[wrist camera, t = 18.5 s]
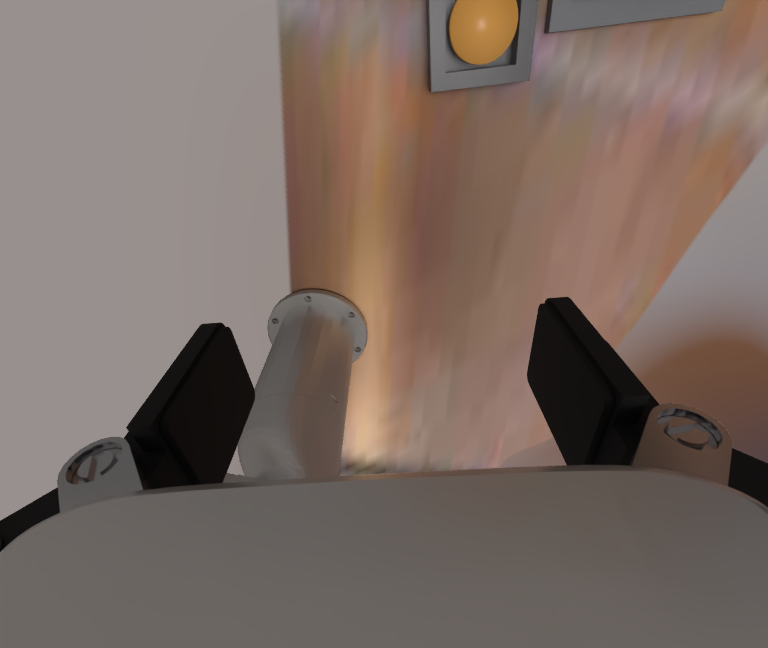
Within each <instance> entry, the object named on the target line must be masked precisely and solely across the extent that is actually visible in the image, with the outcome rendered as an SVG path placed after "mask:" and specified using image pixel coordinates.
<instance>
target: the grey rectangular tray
mask: <svg viewBox="0 0 768 648" xmlns="http://www.w3.org/2000/svg"><path fill="white" fill-rule="evenodd" d="M724 2H725V0H548V9H547V17H546V26H545V33H551V32H559V31H567V30H575V29H583V28H591V27H599V26H607V25H614V24H622V23H630V22H638V21H646V20H654V19H662V18H670V17H678V16H686V15H694V14H702V13H710V12H717V11H722V8H723V5H724Z"/></svg>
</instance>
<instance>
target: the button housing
mask: <svg viewBox="0 0 768 648" xmlns="http://www.w3.org/2000/svg"><path fill="white" fill-rule="evenodd" d="M455 1H456V0H427V36H428V74H429V91H430V92H437V91H446V90H454V89H463V88H471V87H480V86H488V85H497V84H505V83H514V82H522V81H530V71H531V62H532V53H533V43H534V34H535V25H536V15H537V6H538V0H516V2H517V6H518V24H517V29H516V32H515V35H514V37H513V40H512V42H511V43H510V45H509V47H508V48H507V49H506V51H505V52H504V53H503V54H502V55H501V56H500V57H498V58H497V59H496V60H494V61H492V62H490V63H487V64H481V65H476V64H468V63H465V62H463V61H461V60H460V59H459V58H458V57H457V56H456V55H455V54H454V53H453V51H452V49H451V47H450V45H449V41H448V36H447V24H448V18H449V14H450V11H451V9H452V7H453V5H454V3H455Z"/></svg>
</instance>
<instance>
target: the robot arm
mask: <svg viewBox="0 0 768 648" xmlns="http://www.w3.org/2000/svg"><path fill="white" fill-rule="evenodd" d="M309 296H310V297H309ZM268 335H269V338H270V341H271V343H272V348H271V350H270V352H269V355H268V357H267V360H266V362H265V365H264V367H263V370H262V372H261V375H260V377H259V380H258V382H257V384H256V387H255V389H254V388H253V385H252V382H251V380H250V377H249V375H248V372H247V370H246V367H245V364H244V362H243V359H242V357H241V354H240V352H239V349H238V346H237V344H236V341H235V339H234V336H233V334H232V331H231V329H230V328H229V327H225V326H224V324H223V323H210V324H201V325H200V326H199V328H198V329H197V330H196V332H195V333H194V335H193V336H192V337H191V339H190V340H189V342H188V343H187V344H186V346H185V347H184V348H183V350H182V351H181V352H180V354H179V355H178V357H177V358H176V360H175V361H174V362H173V364H172V365H171V366H170V368H169V369H168V370H167V372H166V373H165V375H164V376H163V377H162V379H161V380H160V382H159V383H158V384H157V386H156V387H155V389H154V390H153V391H152V393H151V394H150V395H149V397H148V398H147V399H146V401H145V402H144V404H143V405H142V406H141V408H140V409H139V411H138V412H137V413H136V415H135V416H134V417H133V419H132V420H131V422H130V423H129V424H128V426H127V427H126V428H127V429H128V431H129V432H128V433H127V435H126V436H125V437H124V439H123V438H121V437H109V438H105V439H101V440H98V441H96V442H93V443H91V444H89V445H88V446H86V447H84V448H83V449H81V450H79V451H78V452H77V453H76V454H74V456H72V457H71V458H70V459H69V460H68V461H67V462H66V463H65V465H64V466H63V467H62V469H61V471H60V473H59V475H58V480H57V483H58V488H56V489H54V490H52V491H51V492H49V493H47V494H46V495H44V496H42V497H40V498H39V499H37V500H35V501H33V502H32V503H30V504H28V505H27V506H25V507H23V508H22V509H20V510H18V511H16V512H15V513H13V514H11V515H9V516H8V517H6V518H4V519H3V520H1V521H0V648H768V463H765V462H763V461H761V460H758V459H756V458H754V457H752V456H749V455H747V454H745V453H742V452H740V451H737V450H735V449H733V448H732V439H731V436H730V434H729V433H728V431H727V430H726V428H725V427H724V426H723V425H722V424H720V423H719V422H718V421H717V420H716V419H714V418H713V417H711V416H710V415H708V414H707V413H705V412H702V411H700V410H698V409H696V408H693V407H689V406H686V405H682V404H672V403H668V404H661V405H659V403H658V402H657V401H656V400H655V399H654V397H653V396H652V395H651V394H650V393H649V391H648V390H647V389H646V388H645V387H644V385H643V384H642V383H641V382H640V381H639V379H638V378H637V377H636V376H635V375H634V373H633V372H632V371H631V370H630V369H629V367H628V366H627V365H626V364H625V363H624V361H623V360H622V359H621V358H620V357H619V355H618V354H617V353H616V352H615V351H614V349H613V348H612V347H611V346H610V345H609V343H608V342H606V341H605V340H604V339H603V337H602V336H601V335H600V334H599V333H598V331H597V330H596V329H595V328H594V327H593V325H592V324H591V323H590V322H589V321H588V319H587V318H586V317H585V316H584V315H583V313H582V312H581V311H580V310H579V308H578V307H577V306H576V305H575V304H574V302H573V301H572V300H571V299H570V298H569V297H560V298H548V299H546V301H545V304H540V305H539V308H538V314H537V320H536V325H535V331H534V337H533V342H532V348H531V354H530V360H529V365H528V371H527V378H528V383H529V385H530V387H531V389H532V392H533V394H534V396H535V398H536V400H537V402H538V404H539V407H540V409H541V411H542V413H543V415H544V417H545V419H546V421H547V424H548V426H549V428H550V430H551V432H552V434H553V436H554V439H555V440H556V443H557V445H558V447H559V449H560V451H561V453H562V456H563V458H564V460H565V462H566V464H567V465H566V466H538V467H537V466H536V467H511V468H490V469H469V470H448V471H428V472H409V473H390V474H371V475H353V476H340V464H341V453H342V444H343V435H344V427H345V419H346V410H347V402H348V393H349V385H350V376H351V368H352V363H353V362H354V361H356V360H357V359H358V358H359V357H360V355H361V354H362V353H363V351H364V348H365V346H366V342H367V326H366V322H365V320H364V317H363V316H362V314H361V313H360V311H359V310H358V309H357V308H356V307H355V306H354V305H353V304H352V303H351V302H350V301H348V300H347V299H345V298H344V297H342V296H340V295H338V294H335V293H332V292H329V291H325V290H317V289H312V290H302V291H298V292H294V293H292V294H290V295H288V296H286V297H285V298H283V299H282V300H280V301H279V303H278V304H277V305H276V306H275V307H274V309H273V311H272V313H271V315H270V317H269V320H268ZM237 445H238V454H239V459H240V463H241V466H242V469H243V472H244V475H245V476H242V475H238V476H237V475H234V474H229V473H227V470H228V468H229V465H230V462H231V460H232V457H233V455H234V452H235V450H236V447H237Z"/></svg>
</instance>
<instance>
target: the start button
mask: <svg viewBox="0 0 768 648" xmlns="http://www.w3.org/2000/svg"><path fill="white" fill-rule="evenodd" d="M517 24H518V6H517V2H516V0H456V1H455V3H454V5H453V7H452V9H451V11H450V14H449V18H448V24H447V36H448V41H449V45H450V47H451V49H452V51H453V53H454V54H455V55H456V56H457V57H458V58H459V59H460V60H461V61H463V62H465V63H468V64H476V65H481V64H487V63H490V62H492V61H494V60H496V59H497V58H498V57H500V56H501V55H502V54H503V53H504V52H505V51H506V49H507V48H508V47H509V45H510V43H511V42H512V40H513V37H514V35H515V32H516V29H517Z"/></svg>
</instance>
